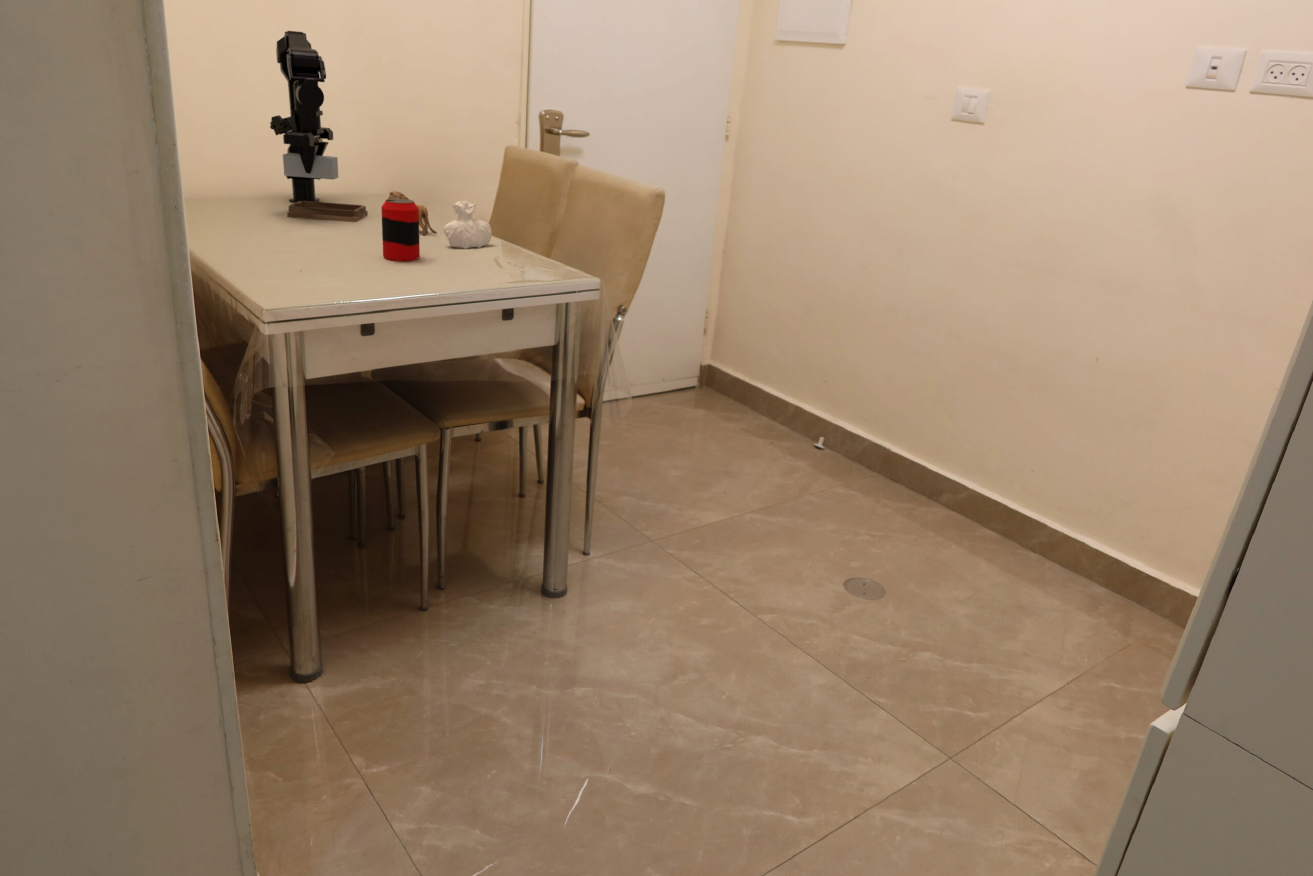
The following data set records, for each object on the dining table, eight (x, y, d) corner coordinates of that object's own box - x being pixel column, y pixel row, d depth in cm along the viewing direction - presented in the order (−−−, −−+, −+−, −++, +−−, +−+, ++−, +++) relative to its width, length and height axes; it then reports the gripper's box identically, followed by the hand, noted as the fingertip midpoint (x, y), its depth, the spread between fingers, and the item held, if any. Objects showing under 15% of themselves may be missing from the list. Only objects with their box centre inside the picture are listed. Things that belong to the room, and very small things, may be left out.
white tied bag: (488, 253, 216) (474, 210, 217) (502, 238, 210) (487, 194, 212) (443, 256, 209) (428, 212, 210) (455, 241, 203) (440, 196, 204)
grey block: (290, 173, 228) (288, 152, 226) (338, 177, 228) (337, 156, 226) (284, 175, 224) (282, 154, 222) (333, 179, 225) (332, 158, 223)
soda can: (381, 254, 196) (379, 197, 191) (416, 254, 199) (415, 198, 194) (385, 261, 190) (383, 203, 185) (422, 261, 192) (421, 204, 188)
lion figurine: (382, 228, 223) (381, 190, 220) (397, 225, 228) (396, 188, 224) (429, 237, 218) (429, 198, 214) (444, 234, 222) (443, 196, 219)
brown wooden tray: (301, 209, 237) (300, 200, 236) (367, 214, 238) (367, 205, 237) (287, 216, 226) (286, 206, 225) (356, 221, 228) (355, 211, 227)
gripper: (287, 101, 228) (292, 165, 234) (258, 104, 211) (264, 173, 217) (332, 104, 228) (335, 168, 234) (306, 109, 211) (311, 177, 217)
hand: (311, 172), depth 226 cm, fingers closed on grey block, 4 cm apart
